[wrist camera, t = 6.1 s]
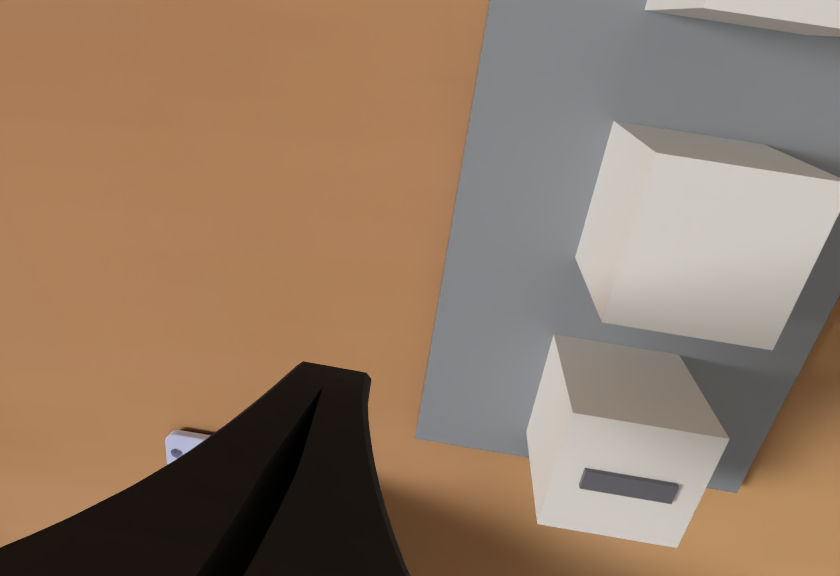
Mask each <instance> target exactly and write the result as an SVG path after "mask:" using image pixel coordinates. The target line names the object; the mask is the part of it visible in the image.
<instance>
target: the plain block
mask: <svg viewBox="0 0 840 576" xmlns="http://www.w3.org/2000/svg"><path fill="white" fill-rule="evenodd" d="M839 213H840V178H839V177H837V176H835V175H832V174H830V173H828V172H826V171H823V170H821V169H819V168H817V167H814V166H812V165H810V164H807V163H805V162H803V161H801V160H798V159H796V158H794V157H792V156H789V155H787V154H785V153H782V152H780V151H778V150H776V149H773V148H771V147H769V146H767V145H764V144H760V143H753V142H747V141H740V140H734V139H728V138H721V137H715V136H708V135H702V134H696V133H689V132H683V131H677V130H670V129H664V128H657V127H651V126H645V125H638V124H632V123H625V122H619V121H613V124H612V128H611V131H610V135H609V138H608V142H607V146H606V149H605V153H604V156H603V160H602V163H601V167H600V171H599V174H598V178H597V181H596V185H595V188H594V192H593V196H592V199H591V203H590V206H589V210H588V213H587V217H586V221H585V224H584V228H583V231H582V235H581V238H580V242H579V246H578V249H577V253H576V256H575V258H576V261H577V263H578V266H579V268H580V271H581V273H582V275H583V278H584V280H585V283H586V285H587V288H588V290H589V292H590V295H591V297H592V300H593V302H594V305H595V307H596V310H597V312H598V314H599V317H600V319H601V322H602V323H608V324H614V325H621V326H627V327H633V328H639V329H645V330H651V331H657V332H663V333H669V334H675V335H681V336H688V337H694V338H700V339H706V340H712V341H718V342H724V343H730V344H736V345H742V346H748V347H755V348H761V349H767V350H773V349H774V347H775V345H776V343H777V340H778V338H779V336H780V334H781V332H782V330H783V328H784V326H785V324H786V322H787V320H788V318H789V316H790V314H791V312H792V310H793V307H794V305H795V303H796V301H797V299H798V297H799V295H800V293H801V291H802V289H803V287H804V285H805V283H806V281H807V279H808V277H809V274H810V272H811V270H812V268H813V266H814V264H815V262H816V260H817V258H818V256H819V254H820V252H821V250H822V248H823V246H824V244H825V241H826V239H827V237H828V235H829V233H830V231H831V229H832V227H833V225H834V223H835V221H836V219H837V217H838V215H839Z"/></svg>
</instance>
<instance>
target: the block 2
mask: <svg viewBox="0 0 840 576" xmlns="http://www.w3.org/2000/svg"><path fill="white" fill-rule="evenodd" d="M645 11H652V12H658V13H665V14H672V15H678V16H685V17H691V18H698V19H704V20H711V21H718V22H724V23H731V24H737V25H744V26H750V27H757V28H764V29H770V30H777V31H783V32H790V33H797V34H803V35H815V36H834V37H840V0H647V3H646V6H645Z"/></svg>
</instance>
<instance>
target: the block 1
mask: <svg viewBox="0 0 840 576" xmlns="http://www.w3.org/2000/svg"><path fill="white" fill-rule="evenodd" d="M526 434H527V442H528V451H529V459H530V467H531V476H532V484H533V492H534V501H535V509H536V517H537V524H541V525H547V526H552V527H558V528H564V529H570V530H576V531H582V532H587V533H593V534H599V535H605V536H611V537H616V538H622V539H628V540H634V541H640V542H645V543H651V544H657V545H663V546H669V547H674V548H677V547H678V545H679V543H680V540H681V538H682V536H683V534H684V532H685V530H686V528H687V526H688V524H689V522H690V520H691V518H692V516H693V514H694V512H695V510H696V507H697V505H698V503H699V501H700V499H701V497H702V495H703V493H704V491H705V489H706V487H707V485H708V483H709V481H710V479H711V477H712V474H713V472H714V470H715V468H716V466H717V464H718V462H719V460H720V458H721V456H722V454H723V452H724V450H725V448H726V446H727V444H728V441H729V437H728V435H727V434H726V432H725V430H724V429H723V427H722V425H721V424H720V422H719V420H718V419H717V417H716V415H715V414H714V412H713V410H712V409H711V407H710V405H709V404H708V402H707V400H706V399H705V397H704V395H703V394H702V392H701V390H700V389H699V387H698V385H697V384H696V382H695V380H694V379H693V377H692V375H691V374H690V372H689V370H688V369H687V367H686V366H685V364H684V362H683V361H682V359H681V357H680V356H679V355H678V354H672V353H666V352H660V351H654V350H647V349H641V348H635V347H629V346H623V345H617V344H611V343H605V342H599V341H593V340H587V339H581V338H575V337H569V336H563V335H557V334H554V335H553V338H552V342H551V345H550V349H549V353H548V356H547V360H546V363H545V367H544V370H543V374H542V378H541V381H540V385H539V388H538V392H537V395H536V399H535V403H534V406H533V410H532V413H531V417H530V420H529V424H528V427H527V431H526Z"/></svg>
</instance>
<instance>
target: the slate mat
mask: <svg viewBox="0 0 840 576" xmlns="http://www.w3.org/2000/svg"><path fill="white" fill-rule="evenodd" d="M646 3H647V0H490V3H489V9H488V15H487V21H486V26H485V32H484V38H483V44H482V50H481V56H480V62H479V67H478V73H477V79H476V85H475V91H474V97H473V102H472V108H471V114H470V120H469V126H468V132H467V137H466V143H465V149H464V155H463V161H462V167H461V172H460V178H459V184H458V190H457V196H456V202H455V207H454V213H453V219H452V225H451V231H450V237H449V243H448V248H447V254H446V260H445V266H444V272H443V278H442V283H441V289H440V295H439V301H438V307H437V313H436V318H435V324H434V330H433V336H432V342H431V348H430V353H429V359H428V365H427V371H426V377H425V383H424V389H423V394H422V400H421V406H420V412H419V418H418V424H417V430H416V436H415V438H416V439H422V440H427V441H433V442H439V443H445V444H451V445H457V446H463V447H469V448H475V449H480V450H486V451H492V452H498V453H504V454H510V455H516V456H522V457H528V458H529V451H528V442H527V434H526V431H527V427H528V424H529V420H530V417H531V413H532V410H533V406H534V403H535V399H536V395H537V392H538V388H539V385H540V381H541V378H542V374H543V370H544V367H545V363H546V360H547V356H548V353H549V349H550V345H551V342H552V338H553V335H554V334H557V335H563V336H569V337H575V338H581V339H587V340H593V341H599V342H605V343H611V344H617V345H623V346H629V347H635V348H641V349H647V350H654V351H660V352H666V353H672V354H678V355H679V356H680V357H681V359H682V361H683V362H684V364H685V366H686V367H687V369H688V370H689V372H690V374H691V375H692V377H693V379H694V380H695V382H696V384H697V385H698V387H699V389H700V390H701V392H702V394H703V395H704V397H705V399H706V400H707V402H708V404H709V405H710V407H711V409H712V410H713V412H714V414H715V415H716V417H717V419H718V420H719V422H720V424H721V425H722V427H723V429H724V430H725V432H726V434H727V435H728V437H729V441H728V444H727V446H726V448H725V450H724V452H723V454H722V456H721V458H720V460H719V462H718V464H717V466H716V468H715V470H714V472H713V474H712V477H711V479H710V481H709V483H708V485H707V487H706V488H710V489H716V490H722V491H728V492H734V493H737V492H738V490H739V488H740V486H741V484H742V482H743V480H744V478H745V476H746V474H747V472H748V470H749V469H750V467H751V465H752V463H753V461H754V459H755V457H756V455H757V453H758V451H759V449H760V447H761V445H762V444H763V442H764V440H765V438H766V436H767V434H768V432H769V430H770V428H771V426H772V424H773V422H774V420H775V419H776V417H777V415H778V413H779V411H780V409H781V407H782V405H783V403H784V401H785V399H786V397H787V395H788V394H789V392H790V390H791V388H792V386H793V384H794V382H795V380H796V378H797V376H798V374H799V372H800V370H801V369H802V367H803V365H804V363H805V361H806V359H807V357H808V355H809V353H810V351H811V349H812V347H813V345H814V344H815V342H816V340H817V338H818V336H819V334H820V332H821V330H822V328H823V326H824V324H825V322H826V320H827V319H828V317H829V315H830V313H831V311H832V309H833V307H834V305H835V303H836V301H837V299H838V297H839V295H840V213H839V215H838V217H837V219H836V221H835V223H834V225H833V227H832V229H831V231H830V233H829V235H828V237H827V239H826V241H825V244H824V246H823V248H822V250H821V252H820V254H819V256H818V258H817V260H816V262H815V264H814V266H813V268H812V270H811V272H810V274H809V277H808V279H807V281H806V283H805V285H804V287H803V289H802V291H801V293H800V295H799V297H798V299H797V301H796V303H795V305H794V307H793V310H792V312H791V314H790V316H789V318H788V320H787V322H786V324H785V326H784V328H783V330H782V332H781V334H780V336H779V338H778V340H777V343H776V345H775V347H774V349H773V350H767V349H761V348H755V347H748V346H742V345H736V344H730V343H724V342H718V341H712V340H706V339H700V338H694V337H688V336H681V335H675V334H669V333H663V332H657V331H651V330H645V329H639V328H633V327H627V326H621V325H614V324H608V323H602V322H601V319H600V317H599V314H598V312H597V310H596V307H595V305H594V302H593V300H592V297H591V295H590V292H589V290H588V288H587V285H586V283H585V280H584V278H583V275H582V273H581V271H580V268H579V266H578V263H577V261H576V258H575V256H576V253H577V249H578V246H579V242H580V238H581V235H582V231H583V228H584V224H585V221H586V217H587V213H588V210H589V206H590V203H591V199H592V196H593V192H594V188H595V185H596V181H597V178H598V174H599V171H600V167H601V163H602V160H603V156H604V153H605V149H606V146H607V142H608V138H609V135H610V131H611V128H612V124H613V121H619V122H625V123H632V124H638V125H645V126H651V127H657V128H664V129H670V130H677V131H683V132H689V133H696V134H702V135H708V136H715V137H721V138H728V139H734V140H740V141H747V142H753V143H760V144H764V145H767V146H769V147H771V148H773V149H776V150H778V151H780V152H782V153H785V154H787V155H789V156H792V157H794V158H796V159H798V160H801V161H803V162H805V163H807V164H810V165H812V166H814V167H817V168H819V169H821V170H823V171H826V172H828V173H830V174H832V175H835V176H837V177H839V178H840V37H834V36H815V35H803V34H797V33H790V32H783V31H777V30H770V29H764V28H757V27H750V26H744V25H737V24H731V23H724V22H718V21H711V20H704V19H698V18H691V17H685V16H678V15H672V14H665V13H658V12H652V11H645V6H646Z"/></svg>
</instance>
